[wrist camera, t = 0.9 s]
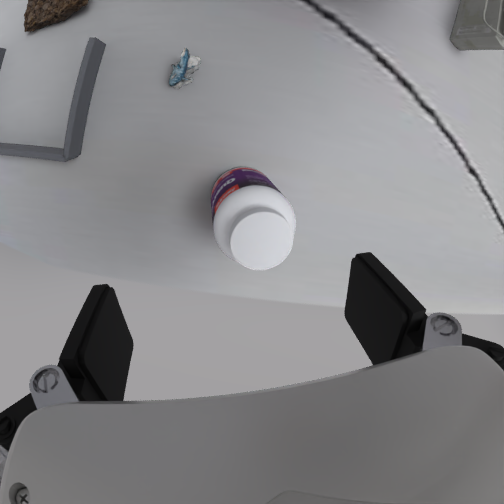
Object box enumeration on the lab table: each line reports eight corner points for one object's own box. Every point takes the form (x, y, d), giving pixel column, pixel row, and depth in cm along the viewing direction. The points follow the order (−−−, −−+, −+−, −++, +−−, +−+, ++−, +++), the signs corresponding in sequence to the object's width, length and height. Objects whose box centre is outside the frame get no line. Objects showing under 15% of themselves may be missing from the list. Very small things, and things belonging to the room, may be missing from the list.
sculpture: (246, 59, 31) (254, 49, 25) (184, 130, 34) (180, 133, 28) (187, 18, 27) (185, 2, 22) (125, 90, 30) (112, 86, 25)
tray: (2, 49, 21) (-13, 46, 18) (106, 44, 26) (95, 37, 22) (-16, 147, 27) (-31, 152, 24) (80, 156, 32) (67, 162, 28)
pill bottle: (221, 157, 35) (231, 183, 23) (280, 176, 38) (321, 211, 25) (203, 216, 38) (203, 271, 26) (260, 231, 41) (286, 289, 28)
